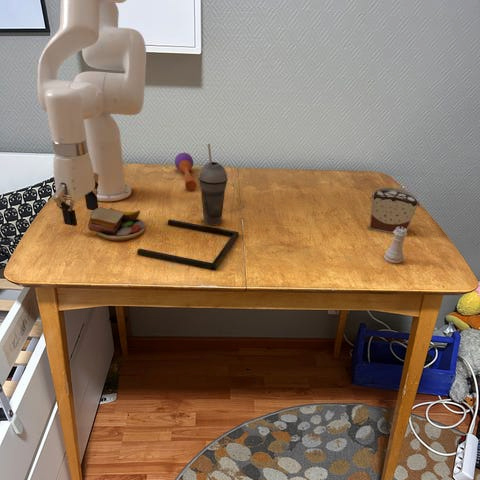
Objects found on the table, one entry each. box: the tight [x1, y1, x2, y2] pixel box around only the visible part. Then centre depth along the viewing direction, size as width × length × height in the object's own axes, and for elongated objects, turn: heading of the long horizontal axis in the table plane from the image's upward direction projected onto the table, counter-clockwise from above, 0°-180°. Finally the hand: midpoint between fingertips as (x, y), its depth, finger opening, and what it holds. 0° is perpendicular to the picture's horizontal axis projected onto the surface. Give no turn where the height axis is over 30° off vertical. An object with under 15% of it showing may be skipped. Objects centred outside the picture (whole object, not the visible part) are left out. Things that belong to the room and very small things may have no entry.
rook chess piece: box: [383, 227, 408, 264], centre depth 110 cm, size 4×4×8 cm
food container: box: [368, 187, 421, 234], centre depth 123 cm, size 12×6×10 cm, turn 71°
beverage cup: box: [198, 143, 228, 226], centre depth 118 cm, size 7×7×20 cm
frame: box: [136, 218, 240, 271], centre depth 113 cm, size 19×18×1 cm
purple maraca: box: [174, 152, 197, 192], centre depth 146 cm, size 6×6×20 cm
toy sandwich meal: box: [87, 206, 147, 241], centre depth 116 cm, size 12×14×5 cm
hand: (82, 217), depth 118 cm, fingers open, 9 cm apart
